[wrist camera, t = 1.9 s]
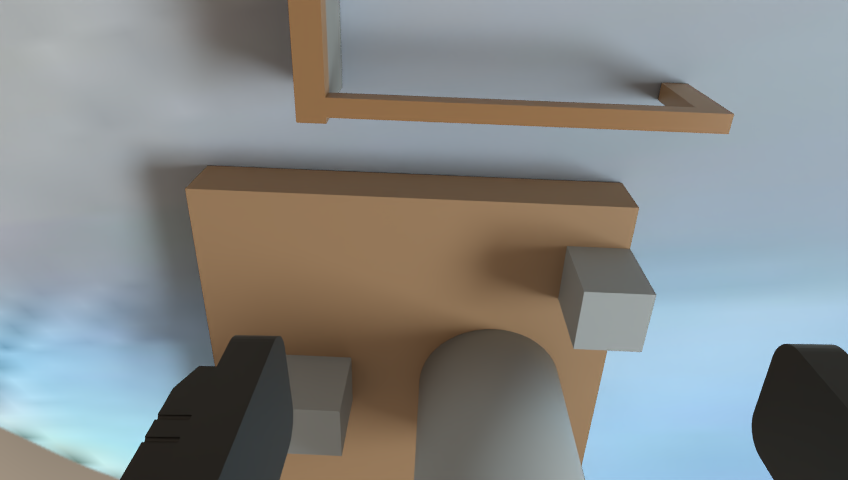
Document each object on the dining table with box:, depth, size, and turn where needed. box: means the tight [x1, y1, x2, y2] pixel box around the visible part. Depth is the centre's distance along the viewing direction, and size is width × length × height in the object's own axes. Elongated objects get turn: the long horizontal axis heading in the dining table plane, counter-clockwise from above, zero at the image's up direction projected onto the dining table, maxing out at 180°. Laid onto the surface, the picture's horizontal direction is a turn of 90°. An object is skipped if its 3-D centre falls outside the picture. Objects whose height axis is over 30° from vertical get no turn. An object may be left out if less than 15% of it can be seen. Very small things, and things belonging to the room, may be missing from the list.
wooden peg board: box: [185, 166, 656, 480], centre depth 28 cm, size 22×21×17 cm
